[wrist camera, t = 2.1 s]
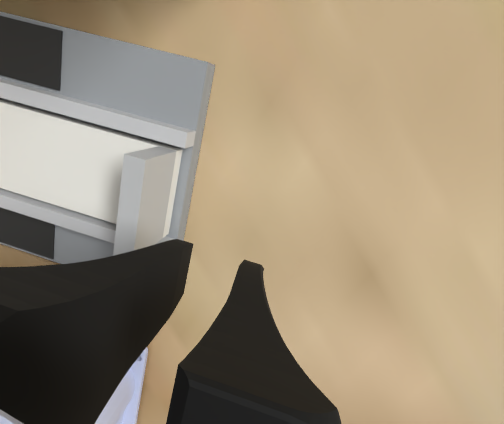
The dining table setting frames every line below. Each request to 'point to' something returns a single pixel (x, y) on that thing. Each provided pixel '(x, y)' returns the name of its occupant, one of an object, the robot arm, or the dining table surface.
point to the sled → (90, 172)
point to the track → (97, 121)
